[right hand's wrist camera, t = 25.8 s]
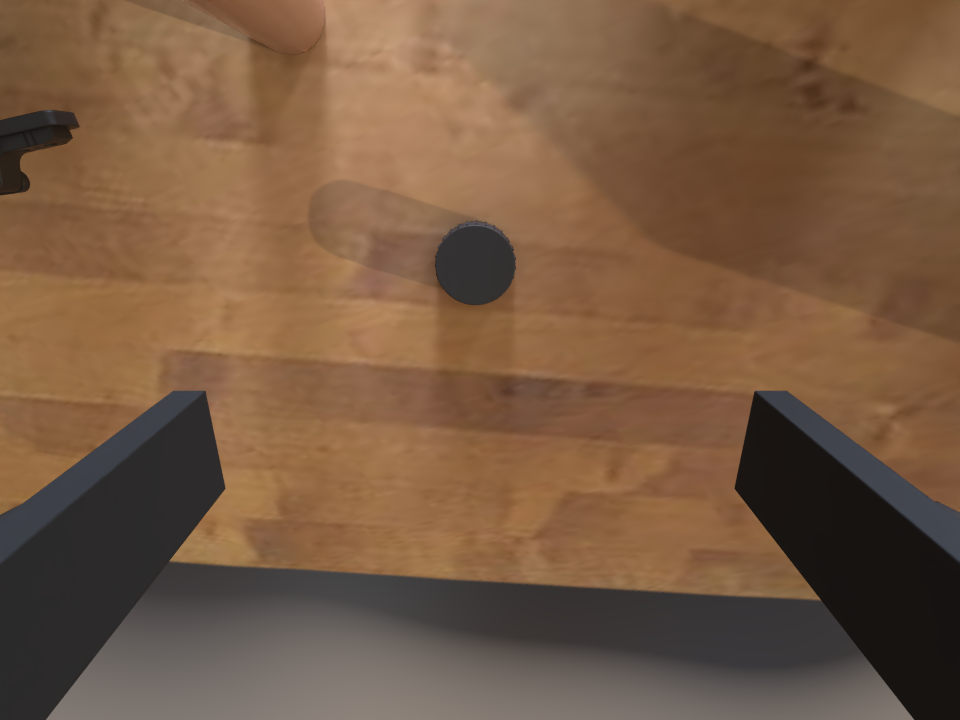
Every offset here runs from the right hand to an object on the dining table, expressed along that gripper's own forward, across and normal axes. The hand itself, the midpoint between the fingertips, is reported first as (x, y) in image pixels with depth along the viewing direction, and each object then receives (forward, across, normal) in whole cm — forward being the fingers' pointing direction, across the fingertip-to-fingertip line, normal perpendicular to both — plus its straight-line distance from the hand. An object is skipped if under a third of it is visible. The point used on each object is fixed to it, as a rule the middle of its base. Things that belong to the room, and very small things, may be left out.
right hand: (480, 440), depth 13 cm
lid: (+24, 0, 0) cm, 24 cm away
